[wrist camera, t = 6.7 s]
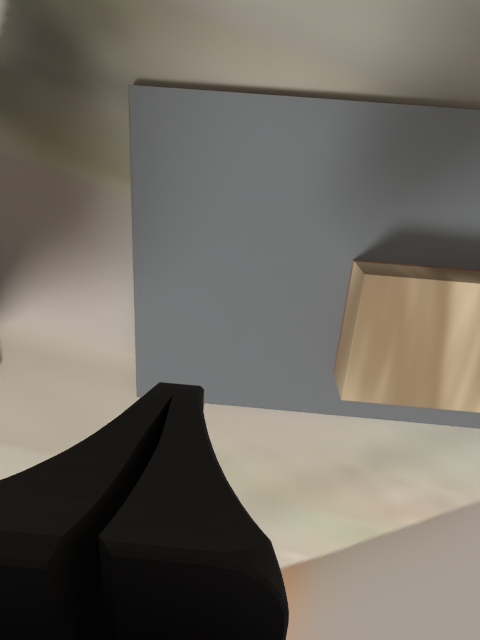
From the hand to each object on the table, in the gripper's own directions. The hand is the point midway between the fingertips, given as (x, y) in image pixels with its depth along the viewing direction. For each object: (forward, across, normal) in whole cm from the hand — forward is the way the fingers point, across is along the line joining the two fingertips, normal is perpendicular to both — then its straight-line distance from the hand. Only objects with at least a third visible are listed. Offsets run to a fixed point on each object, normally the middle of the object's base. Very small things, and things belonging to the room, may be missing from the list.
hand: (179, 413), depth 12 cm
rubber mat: (+9, -6, -2) cm, 11 cm away
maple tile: (+8, -6, 0) cm, 10 cm away
